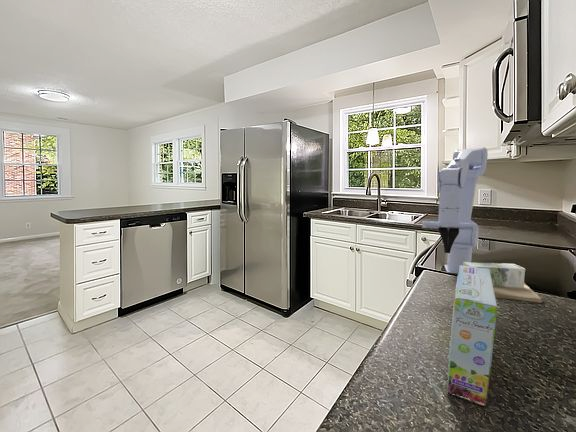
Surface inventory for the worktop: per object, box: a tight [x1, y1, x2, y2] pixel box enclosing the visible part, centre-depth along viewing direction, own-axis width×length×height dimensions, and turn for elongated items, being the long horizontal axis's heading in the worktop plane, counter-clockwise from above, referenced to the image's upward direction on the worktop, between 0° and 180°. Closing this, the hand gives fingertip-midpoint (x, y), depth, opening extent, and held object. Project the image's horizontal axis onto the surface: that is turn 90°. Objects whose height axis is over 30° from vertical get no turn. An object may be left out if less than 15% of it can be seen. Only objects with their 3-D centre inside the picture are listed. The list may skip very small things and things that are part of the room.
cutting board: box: [493, 282, 543, 303], centre depth 85 cm, size 14×14×1 cm
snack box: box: [446, 265, 498, 404], centre depth 50 cm, size 21×6×15 cm, turn 148°
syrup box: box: [463, 261, 526, 288], centre depth 87 cm, size 6×6×14 cm
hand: (447, 252), depth 89 cm, fingers closed
